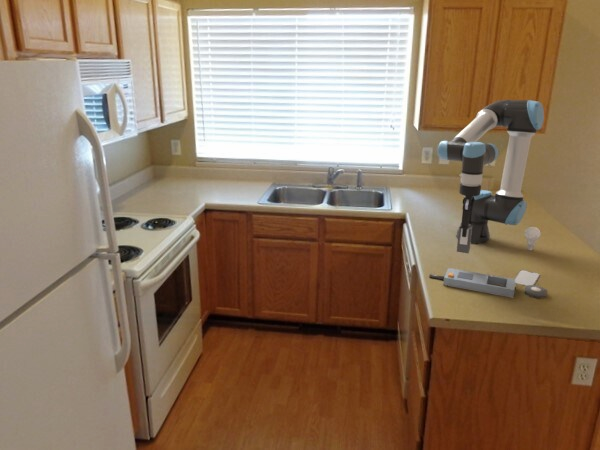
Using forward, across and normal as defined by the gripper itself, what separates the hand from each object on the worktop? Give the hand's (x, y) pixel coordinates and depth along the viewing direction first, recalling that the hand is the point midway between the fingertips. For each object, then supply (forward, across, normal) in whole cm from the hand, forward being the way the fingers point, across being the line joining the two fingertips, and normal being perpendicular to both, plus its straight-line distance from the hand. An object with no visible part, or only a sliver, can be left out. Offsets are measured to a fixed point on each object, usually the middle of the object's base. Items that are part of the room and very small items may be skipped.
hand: (464, 241), depth 182 cm
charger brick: (+4, 0, 0) cm, 4 cm away
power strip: (+12, +12, +5) cm, 18 cm away
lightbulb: (+14, -37, +25) cm, 47 cm away
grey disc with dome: (+12, +10, +27) cm, 31 cm away
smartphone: (+13, -3, +24) cm, 27 cm away
